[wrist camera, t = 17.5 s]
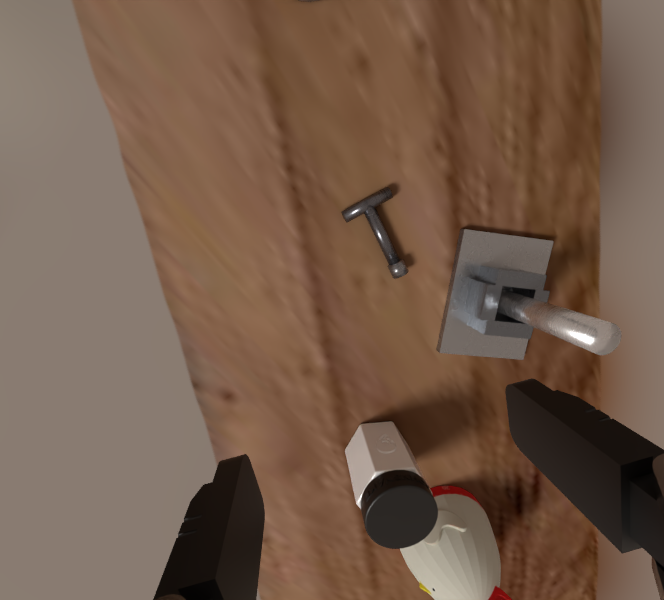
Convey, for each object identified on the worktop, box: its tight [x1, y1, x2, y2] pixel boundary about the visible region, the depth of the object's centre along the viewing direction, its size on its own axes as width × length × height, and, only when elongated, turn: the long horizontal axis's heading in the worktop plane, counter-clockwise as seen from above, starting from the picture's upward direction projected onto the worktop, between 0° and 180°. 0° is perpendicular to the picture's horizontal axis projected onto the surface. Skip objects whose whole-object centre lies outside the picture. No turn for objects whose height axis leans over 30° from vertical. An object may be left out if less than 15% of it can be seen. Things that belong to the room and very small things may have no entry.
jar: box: [345, 421, 438, 549], centre depth 42 cm, size 9×8×12 cm
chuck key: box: [342, 187, 408, 279], centre depth 40 cm, size 10×6×2 cm, turn 28°
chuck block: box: [437, 229, 554, 360], centre depth 42 cm, size 16×12×5 cm
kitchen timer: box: [400, 486, 512, 600], centre depth 44 cm, size 14×14×15 cm
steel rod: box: [497, 289, 621, 355], centre depth 35 cm, size 3×3×16 cm
